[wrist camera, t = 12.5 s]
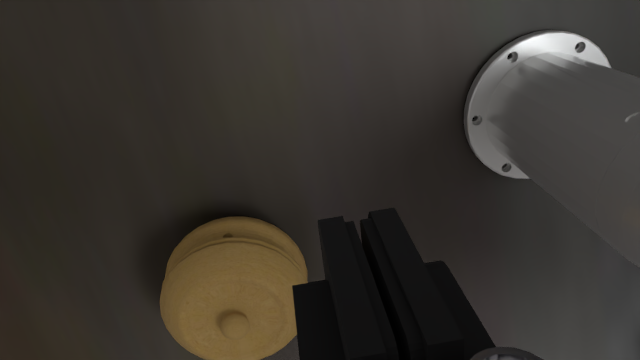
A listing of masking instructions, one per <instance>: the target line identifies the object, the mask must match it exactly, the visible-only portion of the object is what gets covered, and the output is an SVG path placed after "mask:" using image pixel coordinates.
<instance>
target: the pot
mask: <svg viewBox="0 0 640 360" xmlns="http://www.w3.org/2000/svg"><path fill="white" fill-rule="evenodd" d="M304 283H308V282H307V268H306V264H305V260H304V257H303V255H302V253H301V251H300V250H299V248H298V246H297V245H296V243H295V242H294V241H293V240H292V239H291V238H290V237H289V236H288V235H287V234H286V233H285V232H283V231H282V230H280V229H279V228H277V227H276V226H274V225H273V224H270V223H268V222H265V221H262V220H260V219H256V218H250V217H245V216H234V217H225V218H220V219H215V220H212V221H210V222H208V223H206V224H203V225H201V226H199V227H197V228H196V229H195V230H193V231H192V232H190V233H189V234H188V235H186V236H185V237H184V238H183V239H182V241H181V242H180V243H179V244H178V245H177V246H176V248H175V249H174V250H173V252H172V254H171V256H170V258H169V260H168V263H167V268H166V274H165V279H164V281H163V284H162V290H161V295H160V310H161V316H162V319H163V321H164V323H165V326H166V328H167V330H168V331H169V332H170V334H171V335H172V336H173V338H174V339H175V340H176V341H177V342H178V343H179V344H180V345H181V346H183V347H184V348H185V349H186V350H188V351H189V352H191V353H193V354H195V355H197V356H199V357H201V358H203V359H206V360H260V359H262V358H265V357H267V356H270V355H272V354H274V353H275V352H277V351H278V350H280V349H282V348H283V347H285V346H286V345H287V344H288V343H289V342H290V341H291V340H292V339H293V338H294V337H295V336H296V335H297V328H296V319H295V309H294V300H293V290H292V285H298V284H304Z"/></svg>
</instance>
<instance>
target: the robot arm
mask: <svg viewBox="0 0 640 360" xmlns="http://www.w3.org/2000/svg"><path fill="white" fill-rule="evenodd" d="M509 53H510V56H509V57H508V55H509ZM507 57H508V58H507ZM474 116H475V118H474V119H473V117H474ZM472 119H473V120H472ZM464 129H465V135H466V138H467V141H468V143H469V146H470V148H471V149H472V151H473V152H474V154H475V155H476V157H477V158H478V159H479V160H480V161H481V162H482V163H483V164H484V165H486V166H487V167H488V168H490V169H491V170H492V171H494V172H496V173H498V174H500V175H502V176H506V177H510V178H515V179H532V180H533V181H534V182H535V183H536V184H538V185H539V186H540V187H541V188H542V189H544V190H545V191H546V192H547V193H548V194H550V195H551V196H552V197H553V198H554V199H556V200H557V201H558V202H559V203H560V204H562V205H563V206H564V207H565V208H566V209H568V210H569V211H570V212H571V213H572V214H573V215H575V216H576V217H577V218H578V219H579V220H581V221H582V222H583V223H584V224H585V225H587V226H588V227H589V228H590V229H591V230H593V231H594V232H595V233H596V234H597V235H599V236H600V237H601V238H602V239H603V240H605V241H606V242H607V243H608V244H609V245H610V246H611V247H613V248H614V249H615V250H616V251H617V252H619V253H620V254H621V255H622V256H623V257H625V258H626V259H627V260H629V261H630V262H632V263H633V264H635V265H636V266H638V267H640V78H639V77H636V76H633V75H630V74H627V73H624V72H621V71H618V70H615V69H612V68H611V66H610V64H609V61H608V59H607V57H606V56H605V54H604V53H603V52H602V51H601V49H600V48H599V47H598V46H597V45H596V44H594V43H593V42H592V41H590V40H589V39H587V38H585V37H583V36H580V35H578V34H575V33H571V32H567V31H562V30H544V31H537V32H533V33H530V34H527V35H524V36H521V37H519V38H517V39H515V40H514V41H512V42H510V43H508V44H506V45H505V46H504V47H503V48H501V49H500V50H499V51H498V52H496V53H495V54H494V55H493V56H492V57H491V58H490V59H489V60H488V61H487V62H486V64H485V65H484V66H483V67H482V68H481V70H480V71H479V73H478V75H477V76H476V78H475V79H474V81H473V83H472V86H471V88H470V90H469V92H468V95H467V99H466V103H465V107H464ZM318 227H319V235H320V242H321V250H322V257H323V264H324V271H325V279H326V280H322V281H316V282H310V283H304V284H298V285H292V290H293V300H294V309H295V319H296V328H297V338H298V347H299V357H300V360H544V359H542V358H540V357H538V356H536V355H534V354H532V353H531V352H528V351H525V350H521V349H518V348H514V347H496V346H495V345H494V343H493V341H492V340H491V338H490V336H489V335H488V333H487V331H486V330H485V328H484V326H483V325H482V323H481V321H480V320H479V318H478V316H477V315H476V313H475V311H474V310H473V308H472V306H471V305H470V303H469V301H468V300H467V298H466V296H465V295H464V293H463V291H462V290H461V288H460V286H459V285H458V283H457V281H456V280H455V278H454V277H453V275H452V273H451V272H450V270H449V268H448V267H447V265H446V264H445V263H444V262H443V261H435V262H429V263H424V262H423V260H422V259H421V257H420V255H419V253H418V251H417V249H416V247H415V245H414V244H413V242H412V240H411V238H410V236H409V234H408V232H407V230H406V229H405V227H404V225H403V223H402V221H401V219H400V217H399V215H398V213H397V212H396V210H395V208H390V209H384V210H378V211H371V212H369V215H368V219H363V220H361V221H360V227H361V238H362V244H361V241H360V238H359V235H358V233H357V230H356V227H355V224H354V222H353V221H351V222H344V219H343V216H340V217H334V218H328V219H321V220H318Z"/></svg>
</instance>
